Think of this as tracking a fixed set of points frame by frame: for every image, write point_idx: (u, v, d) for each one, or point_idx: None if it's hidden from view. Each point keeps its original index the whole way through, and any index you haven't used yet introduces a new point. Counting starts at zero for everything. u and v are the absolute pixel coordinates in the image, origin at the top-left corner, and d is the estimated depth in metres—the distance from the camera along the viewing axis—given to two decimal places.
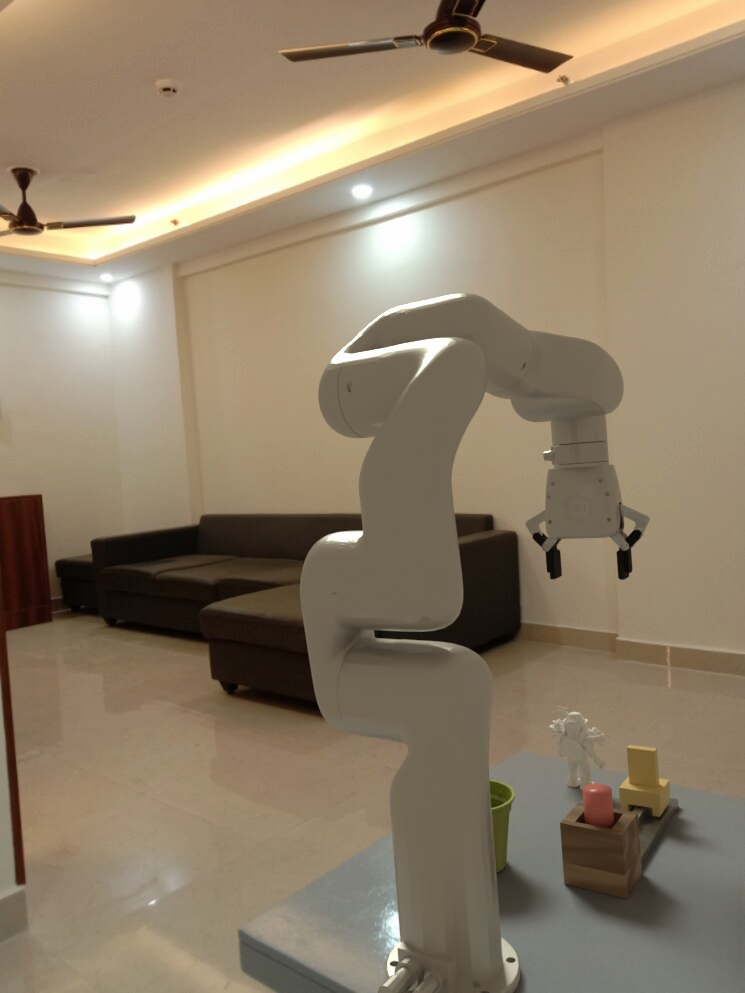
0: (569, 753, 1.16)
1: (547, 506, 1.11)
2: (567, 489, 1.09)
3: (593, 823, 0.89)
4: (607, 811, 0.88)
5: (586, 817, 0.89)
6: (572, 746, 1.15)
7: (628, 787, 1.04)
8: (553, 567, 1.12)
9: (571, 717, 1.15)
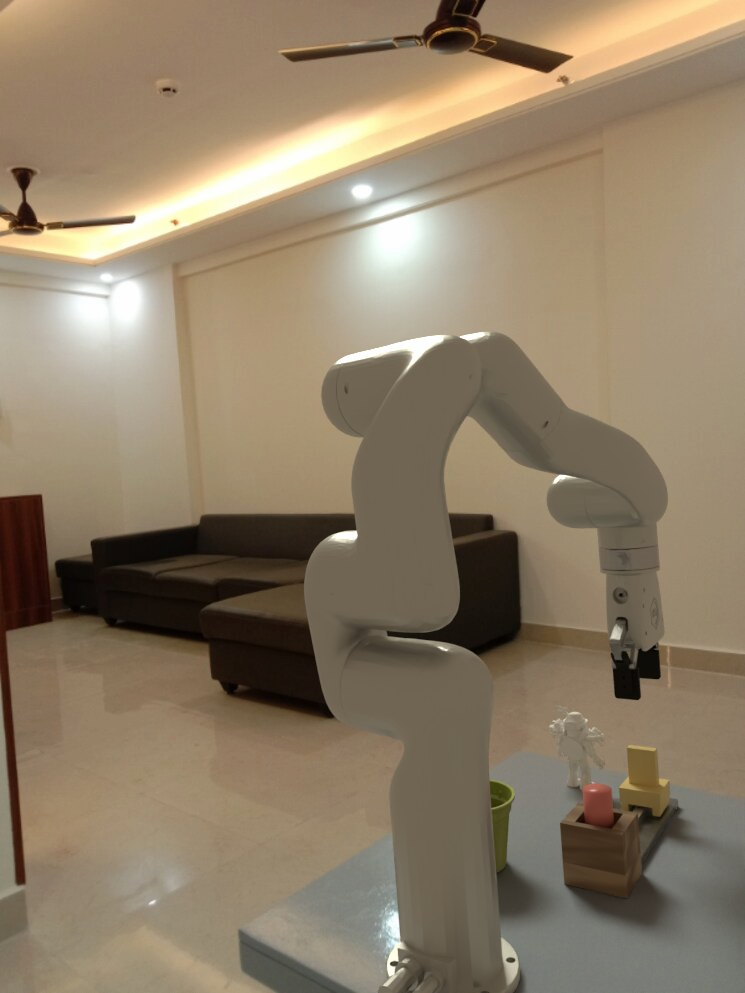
0: (569, 753, 1.16)
1: (643, 616, 0.99)
2: (650, 594, 1.02)
3: (593, 823, 0.89)
4: (607, 811, 0.88)
5: (586, 817, 0.89)
6: (572, 746, 1.15)
7: (628, 787, 1.04)
8: (639, 685, 1.00)
9: (571, 717, 1.15)
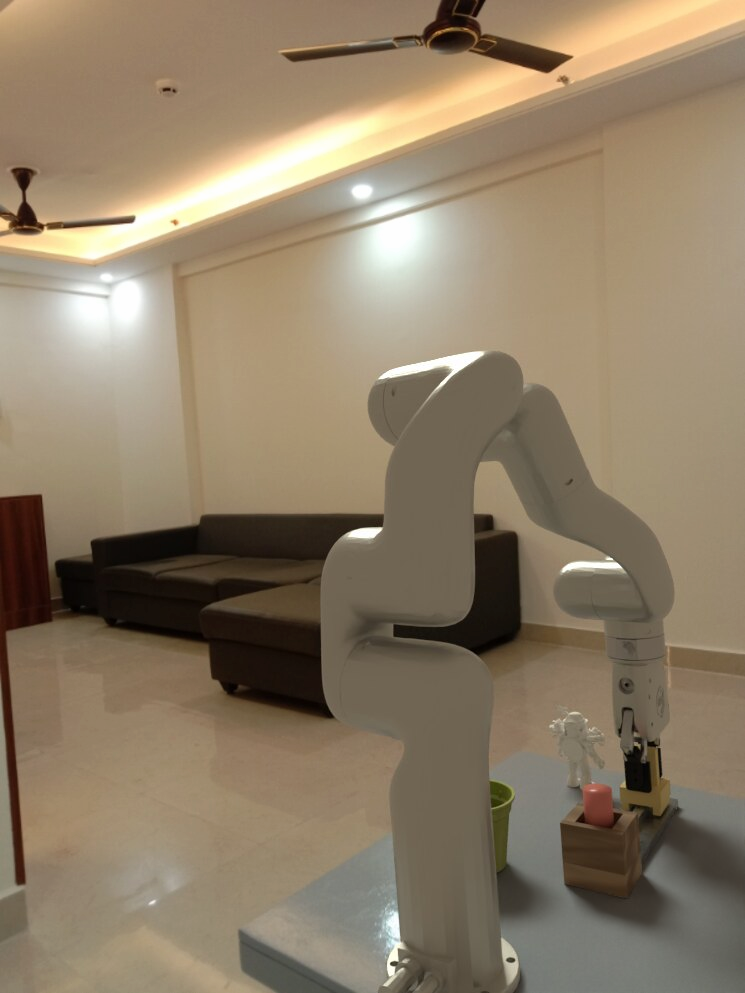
0: (569, 753, 1.16)
1: (649, 707, 0.99)
2: (656, 683, 1.02)
3: (593, 823, 0.89)
4: (607, 811, 0.88)
5: (586, 817, 0.89)
6: (572, 746, 1.15)
7: None
8: (650, 778, 1.02)
9: (571, 717, 1.15)
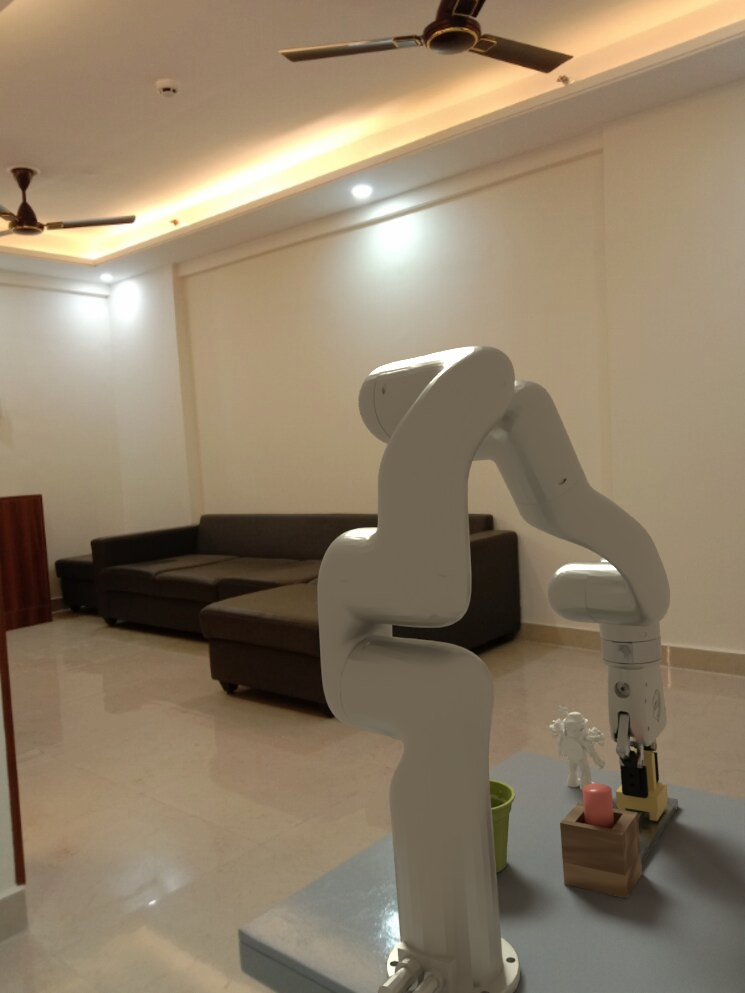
0: (569, 753, 1.16)
1: (645, 712, 0.98)
2: (653, 687, 1.00)
3: (593, 823, 0.89)
4: (607, 811, 0.88)
5: (586, 817, 0.89)
6: (572, 746, 1.15)
7: None
8: (647, 783, 1.01)
9: (571, 717, 1.15)
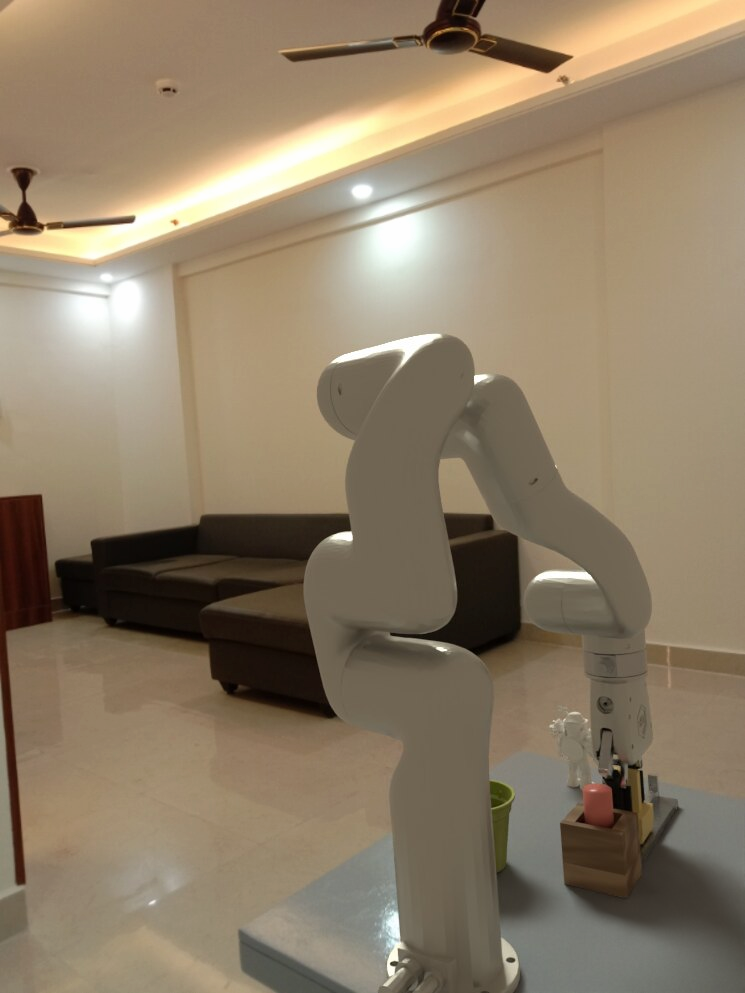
0: (569, 753, 1.16)
1: (629, 728, 0.92)
2: (637, 702, 0.95)
3: (593, 823, 0.89)
4: (607, 811, 0.88)
5: (586, 817, 0.89)
6: (572, 746, 1.15)
7: None
8: (631, 804, 0.95)
9: (571, 717, 1.15)
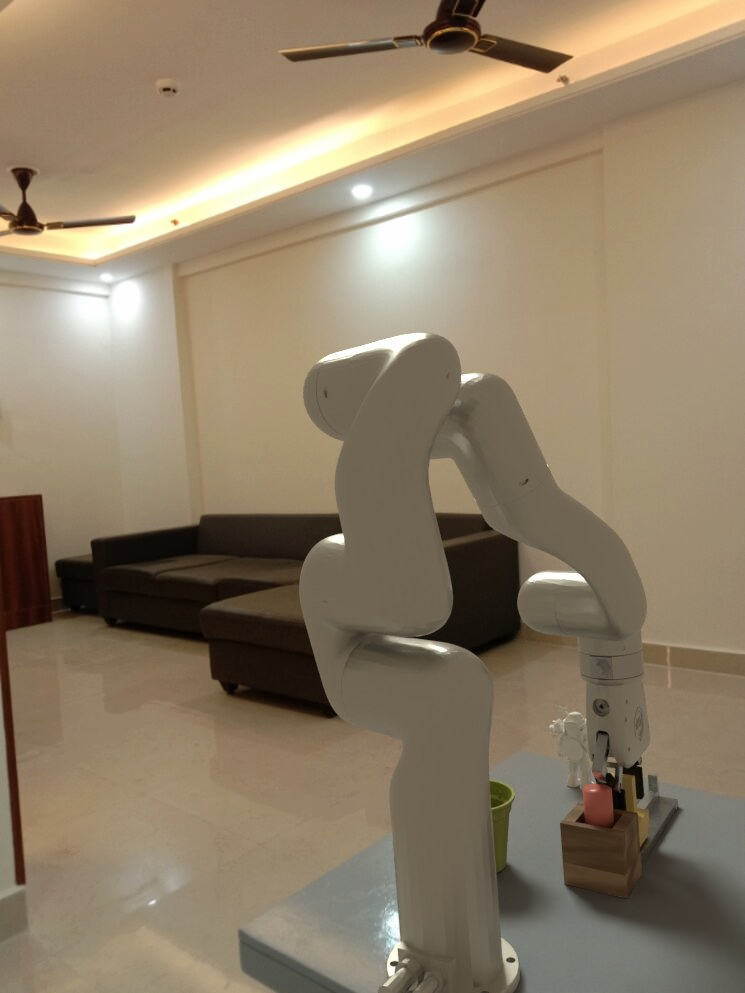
0: (569, 753, 1.16)
1: (625, 731, 0.91)
2: (634, 704, 0.93)
3: (593, 823, 0.89)
4: (607, 811, 0.88)
5: (586, 817, 0.89)
6: (572, 746, 1.15)
7: None
8: (625, 807, 0.93)
9: (571, 717, 1.15)
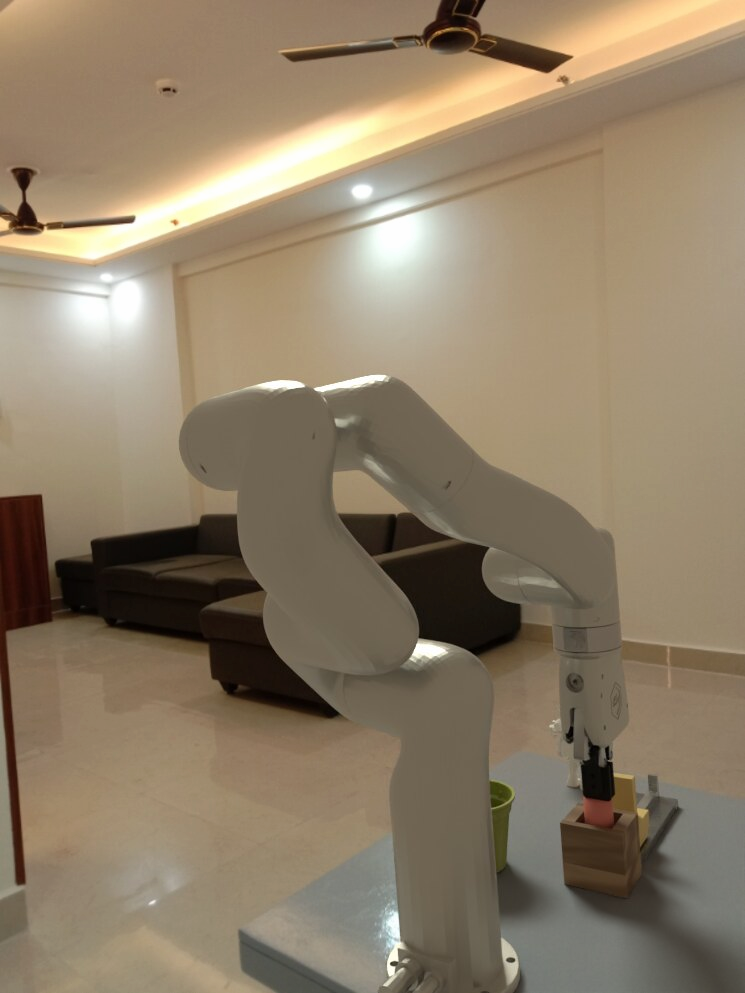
0: (569, 753, 1.16)
1: (601, 708, 0.84)
2: (611, 679, 0.87)
3: None
4: (608, 820, 0.88)
5: None
6: (572, 746, 1.15)
7: None
8: (610, 784, 0.89)
9: None
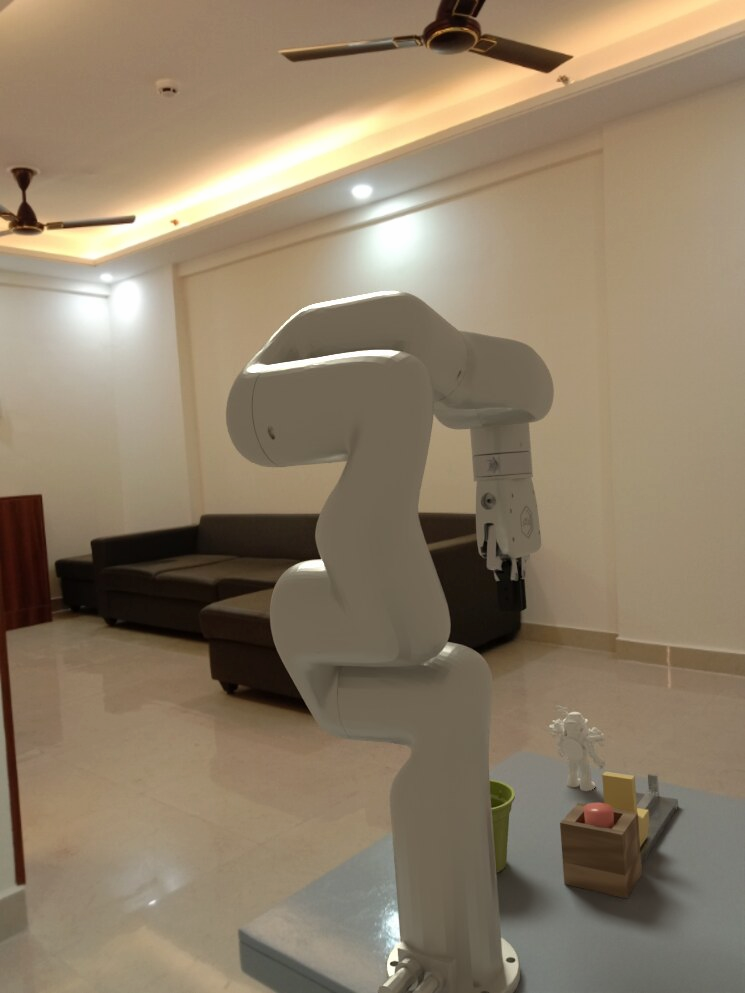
0: (569, 753, 1.16)
1: (510, 521, 0.96)
2: (521, 501, 0.99)
3: None
4: None
5: None
6: (572, 746, 1.15)
7: None
8: (522, 597, 1.01)
9: (571, 717, 1.15)
